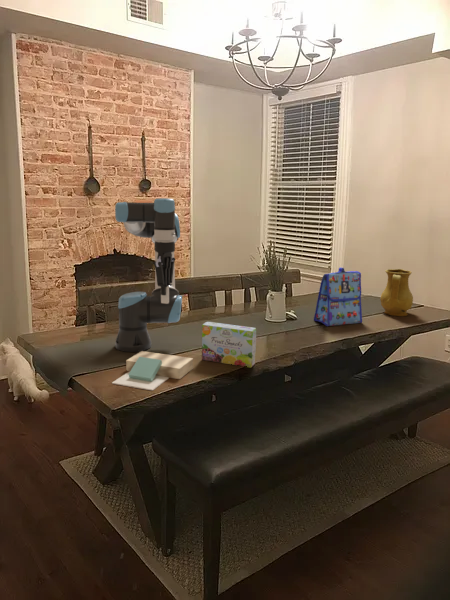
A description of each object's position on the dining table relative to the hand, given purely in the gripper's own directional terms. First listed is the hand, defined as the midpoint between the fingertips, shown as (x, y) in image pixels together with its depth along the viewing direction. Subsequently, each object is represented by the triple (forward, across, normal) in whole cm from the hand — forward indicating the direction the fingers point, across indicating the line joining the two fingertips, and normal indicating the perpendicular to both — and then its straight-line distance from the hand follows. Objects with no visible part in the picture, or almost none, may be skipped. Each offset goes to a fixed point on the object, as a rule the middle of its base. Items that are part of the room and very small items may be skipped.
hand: (165, 302), depth 193 cm
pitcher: (+25, +123, -80) cm, 149 cm away
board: (+24, -7, -1) cm, 25 cm away
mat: (+24, -20, 0) cm, 31 cm away
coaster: (+22, -16, 0) cm, 27 cm away
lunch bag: (+25, +92, -53) cm, 109 cm away
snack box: (+25, +11, -22) cm, 35 cm away
